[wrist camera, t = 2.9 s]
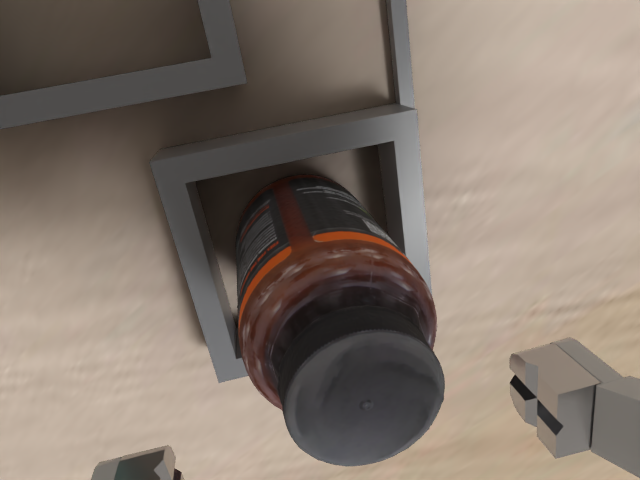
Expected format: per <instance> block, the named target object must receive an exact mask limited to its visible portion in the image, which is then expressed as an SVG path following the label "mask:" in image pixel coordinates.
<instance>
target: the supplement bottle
mask: <svg viewBox="0 0 640 480" xmlns="http://www.w3.org/2000/svg"><path fill="white" fill-rule="evenodd" d="M236 262H237V296H238V306H237V308H238V328H239V344H240V350H241V355H242V360H243V362H244V365H245V368H246V371H247V373H248V375H249V377H250V379H251V381H252V383H253V385H254V386H255V387H256V388H257V390H258V391H259V392H260V394H261V395H262V396H264V397H265V398H266V399H267V400H268V401H269V402H271V403H272V404H273V405H274V406H276V407H278V408H280V409H281V410H282V411H283V415H284V419H285V423H286V426H287V429H288V431H289V433H290V435H291V437H292V438H293V440H294V442H295V443H296V444H297V445H298V446H299V448H301V449H302V450H303V451H304V452H306V453H307V454H309V455H311V456H312V457H314V458H316V459H317V460H320V461H324V462H326V463H330V464H334V465H341V466H360V465H367V464H372V463H376V462H380V461H383V460H385V459H388V458H390V457H393V456H395V455H396V454H398V453H400V452H402V451H404V450H406V449H407V448H409V447H410V446H411V445H412V444H414V443H415V442H416V441H417V440H418V439H420V438H421V437H422V436H423V435H424V433H425V432H426V431H427V430H428V429H429V428H430V426H431V425H432V423H433V421H434V420H435V418H436V416H437V414H438V412H439V410H440V407H441V404H442V402H443V400H444V388H445V381H444V374H443V371H442V368H441V365H440V362H439V361H438V359H437V357H436V355H435V354H434V352H433V347H434V342H435V337H436V331H437V316H436V310H435V305H434V302H433V298H432V295H431V293H430V290H429V288H428V286H427V284H426V282H425V281H424V279H423V278H422V276H421V275H420V273H419V272H418V270H417V269H416V268H415V267H414V266H413V265H412V263H411V262H410V261H409V259H408V258H407V257H406V256H405V255H404V254H403V252H402V251H401V250H400V249H399V248H398V246H397V245H396V244H395V243H394V242H393V241H392V240H391V238H390V237H389V236H388V235H387V234H386V233H385V231H384V230H383V229H382V228H381V227H380V226H379V225H378V223H377V222H376V221H375V220H374V219H373V217H372V216H371V215H370V214H369V213H368V212H367V211H366V209H365V208H364V207H363V206H362V205H361V204H360V202H359V201H358V200H357V199H356V198H355V197H354V196H353V195H352V194H351V193H350V192H349V191H347V190H346V189H345V188H344V187H342V186H341V185H339V184H337V183H336V182H334V181H332V180H329V179H326V178H323V177H319V176H314V175H296V176H290V177H287V178H283V179H280V180H278V181H276V182H273V183H271V184H270V185H268V186H266V187H265V188H263V189H262V190H261V191H260V192H258V193H257V194H256V195H255V196H254V197H253V199H252V200H251V201H250V202H249V204H248V205H247V207H246V208H245V210H244V212H243V214H242V216H241V219H240V222H239V225H238V229H237V237H236Z"/></svg>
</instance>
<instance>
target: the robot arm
mask: <svg viewBox="0 0 640 480" xmlns="http://www.w3.org/2000/svg"><path fill="white" fill-rule="evenodd" d="M510 369H511V370H512V371H513V372H514V373H515V375H514V377H513V378H512V380H511V382H510V395H511V398H512V401H513V404H514V406H515V408H516V410H517V412H518V413H519V415H520V416H521V417H522V419H523V420H524V421H525V422H526V423H529V424H531V425H533V426H535V427H537V437H538V438H539V439H540V441H541V442H542V443H543V444H544V445H545V447H546V448H547V449H548V450H549V451H550V453H551V454H552V455H553V456H554V457H555V459H556V458H560V457H564V456H568V455H571V454H575V453H579V452H583V451H587V450H590V449H591V452H593V453H595V454H597V455H599V456H601V457H602V458H604V459H606V460H608V461H610V462H611V463H613V464H615V465H617V466H619V467H621V468H622V469H624V470H626V471H628V472H630V473H632V474H633V475H635V476H637V477H639V478H640V379H638V378H635V377H632V376H628V377H622V376H621V375H620V374H619V373H617V372H616V371H615V370H614V369H612V368H611V367H610V366H609V365H607V364H606V363H605V362H604V361H602V360H601V359H600V358H598V357H597V356H596V355H595V354H593V353H592V352H591V351H590V350H588V349H587V348H586V347H585V346H583V345H582V344H581V343H580V342H578V341H577V340H576V339H573V338H566V339H563V340H559V341H556V342H552V343H550V344H546V345H542V346H539V347H535V348H531V349H528V350H524V351H521V352H517V353H513V354H511V357H510ZM175 460H176V457H175V455H174V452H173V450H172V448H171V447H170V446H168V445H167V446H163V447H159V448H154V449H150V450H146V451H142V452H138V453H134V454H130V455H125V456H123V457H119V458H115V459H111V460H107V461H102V462H100V463H99V464H98V465H97V466H96V467H95V469H94V472H93V475H92V478H91V480H184V478H183V475H182V472H180V471H178V470H177V469H175Z"/></svg>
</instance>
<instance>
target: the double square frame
mask: <svg viewBox="0 0 640 480" xmlns="http://www.w3.org/2000/svg"><path fill="white" fill-rule="evenodd" d="M198 4H199V8H200V13H201V17H202V21H203V25H204V29H205V33H206V38H207V42H208V46H209V50H210V54H211V58H208V59H202V60H197V61H191V62H186V63H180V64H175V65H169V66H164V67H158V68H152V69H147V70H141V71H136V72H130V73H125V74H119V75H113V76H108V77H102V78H97V79H91V80H86V81H80V82H75V83H69V84H63V85H58V86H52V87H47V88H41V89H36V90H30V91H25V92H19V93H13V94H8V95H2V96H0V129H4V128H10V127H15V126H20V125H26V124H31V123H36V122H42V121H47V120H53V119H58V118H63V117H69V116H74V115H79V114H85V113H90V112H96V111H101V110H106V109H112V108H117V107H122V106H128V105H133V104H139V103H144V102H149V101H155V100H160V99H165V98H171V97H176V96H182V95H187V94H192V93H198V92H203V91H208V90H214V89H219V88H224V87H230V86H235V85H241V84H246V83H247V79H246V75H245V70H244V65H243V61H242V56H241V52H240V47H239V42H238V38H237V33H236V29H235V24H234V19H233V15H232V10H231V5H230V1H229V0H198ZM386 6H387V16H388V27H389V37H390V47H391V57H392V68H393V78H394V88H395V98H396V103H394V104H389V105H384V106H378V107H373V108H368V109H363V110H358V111H353V112H348V113H343V114H338V115H332V116H327V117H322V118H317V119H312V120H307V121H302V122H297V123H292V124H286V125H281V126H276V127H271V128H266V129H261V130H256V131H251V132H246V133H240V134H235V135H230V136H225V137H220V138H215V139H210V140H205V141H200V142H194V143H189V144H184V145H179V146H174V147H169V148H164V149H160V150H159V151H158V152H157V153H156V155H155V156H154V157H153V158H152V159H151V161H150V162H149V163H150V166H151V169H152V173H153V176H154V179H155V182H156V185H157V188H158V192H159V195H160V198H161V201H162V204H163V207H164V211H165V214H166V217H167V220H168V223H169V226H170V230H171V233H172V236H173V239H174V242H175V245H176V249H177V252H178V255H179V258H180V261H181V264H182V268H183V271H184V274H185V277H186V280H187V283H188V287H189V290H190V293H191V296H192V299H193V302H194V306H195V309H196V312H197V315H198V318H199V321H200V325H201V328H202V331H203V334H204V337H205V340H206V344H207V347H208V350H209V353H210V356H211V359H212V363H213V366H214V369H215V372H216V375H217V378H218V382H219V383H221V382H225V381H229V380H233V379H237V378H241V377H245V376H249V375H248V373H247V371H246V368H245V365H244V362H243V360H242V355H241V350H240V344H239V328H236V326H235V322H234V319H233V315H232V312H231V308H230V304H229V301H228V297H227V294H226V290H225V287H224V283H223V280H222V276H221V272H220V269H219V265H218V262H217V258H216V255H215V251H214V247H213V244H212V240H211V237H210V233H209V230H208V226H207V223H206V219H205V215H204V212H203V208H202V205H201V201H200V198H199V194H198V191H197V187H196V183H195V181H198V180H203V179H208V178H213V177H218V176H223V175H228V174H233V173H238V172H243V171H248V170H253V169H257V168H262V167H267V166H272V165H277V164H282V163H287V162H292V161H297V160H302V159H307V158H312V157H316V156H321V155H326V154H331V153H336V152H341V151H346V150H351V149H356V148H361V147H366V146H371V145H376V144H378V152H379V160H380V169H381V177H382V186H383V195H384V203H385V212H386V220H387V229H388V236H389V237H390V238H391V240H392V241H393V242H394V243H395V244H396V245H397V246H398V248H399V249H400V250H401V251H402V252H403V254H404V255H405V256H406V257H407V258H408V259H409V261H410V262H411V263H412V265H413V266H414V267H415V268H416V269H417V270H418V272H419V273H420V275H421V276H422V278H423V279H424V281H425V282H426V284H427V286H428V288H429V290H430V293H431V295H432V289H431V277H430V265H429V252H428V240H427V228H426V215H425V203H424V191H423V178H422V166H421V154H420V141H419V129H418V117H417V109H415V103H414V91H413V79H412V67H411V54H410V42H409V30H408V18H407V6H406V0H386Z"/></svg>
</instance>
